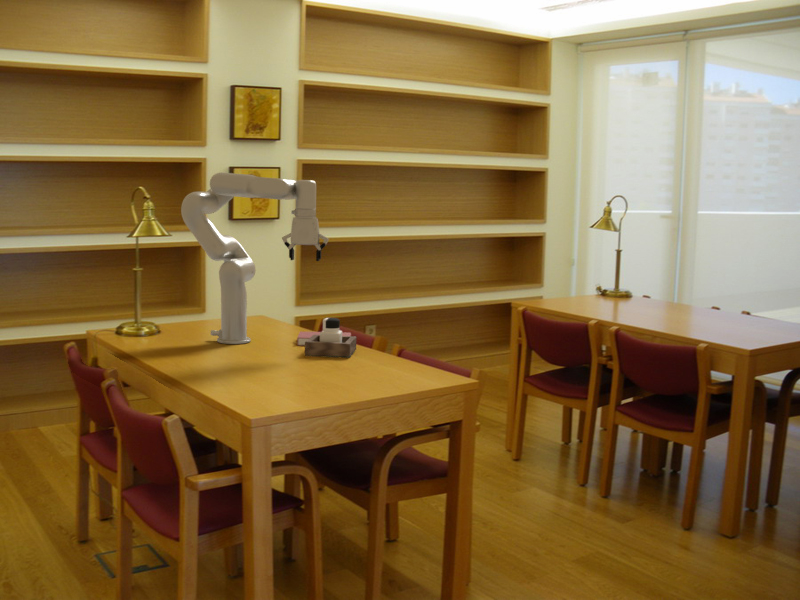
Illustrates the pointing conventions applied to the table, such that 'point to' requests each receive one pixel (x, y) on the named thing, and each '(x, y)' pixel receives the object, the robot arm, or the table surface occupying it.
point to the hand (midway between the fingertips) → (305, 260)
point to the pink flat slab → (306, 335)
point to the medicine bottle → (331, 330)
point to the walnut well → (330, 347)
